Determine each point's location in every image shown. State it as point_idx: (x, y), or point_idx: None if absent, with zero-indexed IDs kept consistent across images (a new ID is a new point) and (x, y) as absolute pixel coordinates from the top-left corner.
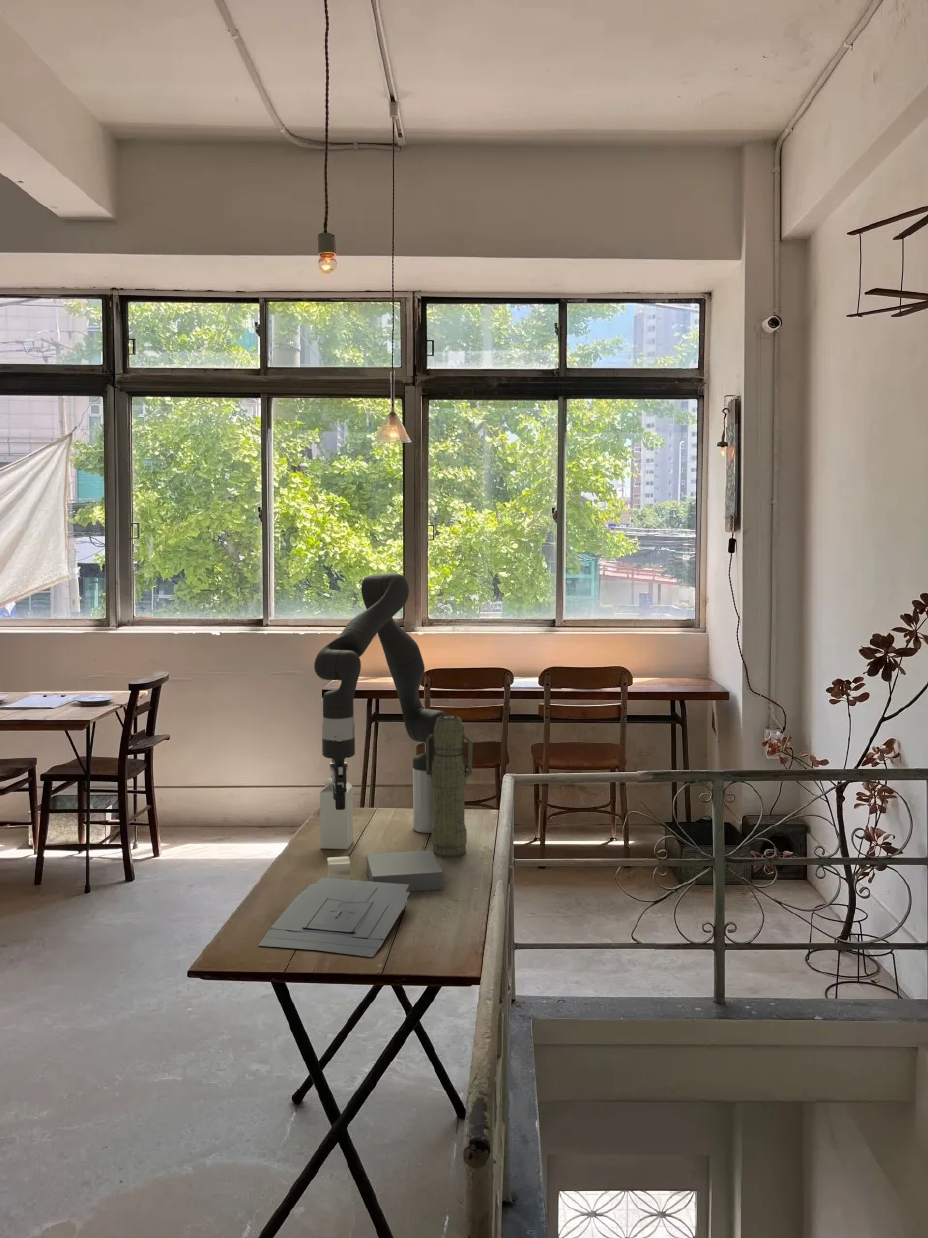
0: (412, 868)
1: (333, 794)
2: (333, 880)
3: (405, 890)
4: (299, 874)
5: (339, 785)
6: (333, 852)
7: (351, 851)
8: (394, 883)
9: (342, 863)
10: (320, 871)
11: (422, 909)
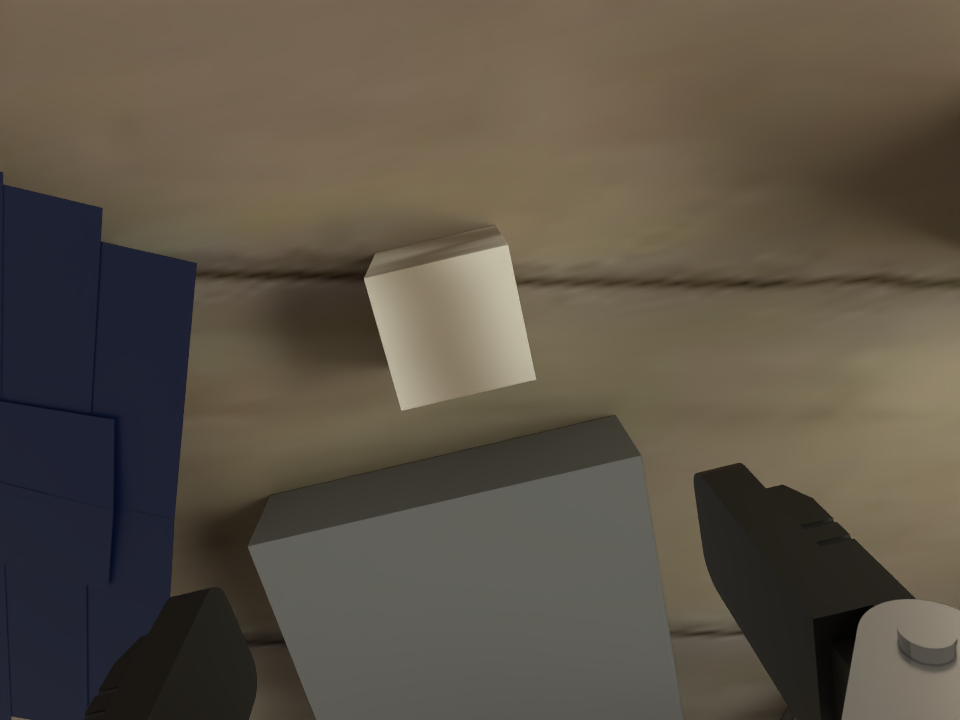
0: (400, 707)
1: (726, 510)
2: (160, 342)
3: None
4: (558, 29)
5: (811, 706)
6: (952, 174)
7: (950, 281)
8: None
9: (394, 365)
10: (610, 158)
11: None
